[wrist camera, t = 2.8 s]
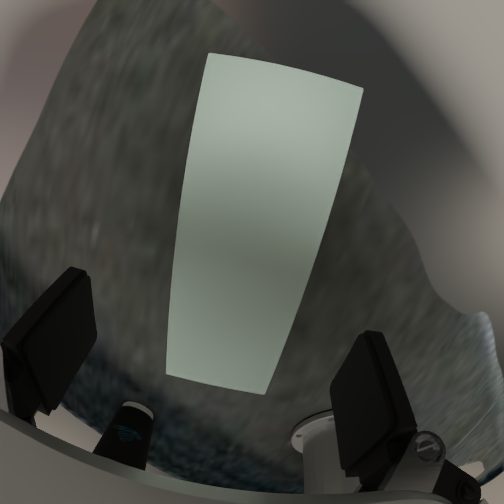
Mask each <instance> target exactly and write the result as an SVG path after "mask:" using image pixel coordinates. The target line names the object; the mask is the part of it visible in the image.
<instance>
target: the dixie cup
mask: <svg viewBox="0 0 504 504" xmlns="http://www.w3.org/2000/svg"><path fill="white" fill-rule="evenodd" d="M153 423H154V422H153V413H152V412H151V411H150V410H149V409H148V408H147V407H145V406H143V405H141V404H139V403H136V402H131V401H128V402H125V403H124V404H123V405H122V406H121V407H120V408H119V409H118V411H117V412H116V414H115V416H114V417H113V419H112V421H111V422H110V424H109V425H108V427H107V429H106V430H105V432H104V434H103V435H102V437H101V439H100V441H99V442H98V444H97V446H96V447H95V449H94V451H93V452H92V453H94V454H96V455H99V456H101V457H104V458H107V459H110V460H112V461H115V462H118V463H121V464H124V465H127V466H130V467H134V468H137V469H140V470H143V471H145V468H146V462H147V456H148V451H149V445H150V439H151V434H152V429H153Z"/></svg>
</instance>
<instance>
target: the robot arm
mask: <svg viewBox="0 0 504 504" xmlns="http://www.w3.org/2000/svg"><path fill="white" fill-rule="evenodd" d="M96 338H97V330H96V323H95V316H94V308H93V299H92V289H91V279H90V277H89V276H87V273H86V271H85V270H82V269H78V268H75V267H69V268H68V269H67V270H66V271H65V272H64V273H63V274H62V275H61V276H60V277H59V278H58V279H57V280H56V281H55V282H54V283H53V284H52V285H51V286H50V287H49V288H48V289H47V290H46V291H45V292H44V293H43V294H42V295H41V296H40V297H39V298H38V300H37V301H36V302H35V303H34V304H33V305H32V306H31V307H30V308H29V309H28V310H27V311H26V313H25V314H24V315H23V316H22V317H21V318H20V319H19V320H18V321H17V323H16V324H15V325H14V326H13V327H12V328H11V330H10V331H9V332H8V333H7V334H6V335H5V337H4V338H3V342H2V343H1V344H0V504H488V503H487V501H486V500H485V499H482V500H480V498H481V488H480V485H479V483H478V482H477V480H476V479H474V478H473V477H472V476H470V475H469V474H467V473H466V472H464V471H462V470H461V469H460V468H458V467H457V466H455V465H454V464H452V463H451V462H449V461H448V460H446V459H445V458H446V447H445V444H444V442H443V440H442V439H441V438H440V437H439V436H438V435H437V434H436V433H434V432H431V431H426V430H423V431H419V432H417V428H416V427H417V424H416V421H415V418H414V415H413V412H412V409H411V406H410V403H409V400H408V397H407V395H406V392H405V389H404V386H403V384H402V381H401V378H400V376H399V373H398V370H397V368H396V365H395V362H394V360H393V357H392V355H391V352H390V350H389V347H388V345H387V342H386V340H385V338H384V335H383V334H382V333H381V332H377V331H369V330H366V331H365V332H364V333H363V334H360V335H359V336H358V337H357V339H356V341H355V343H354V345H353V346H352V348H351V350H350V352H349V354H348V355H347V357H346V359H345V361H344V362H343V364H342V366H341V368H340V369H339V371H338V373H337V374H336V376H335V378H334V379H333V381H332V383H331V386H330V396H331V402H332V409H333V410H332V411H328V412H323V413H320V414H317V415H314V416H312V417H310V418H308V419H306V420H304V421H303V422H301V423H300V424H299V425H298V426H296V427H295V429H294V430H293V431H292V434H291V443H292V446H293V447H294V449H296V450H297V451H299V452H301V453H303V468H304V494H278V493H263V492H252V491H243V490H235V489H227V488H220V487H214V486H208V485H202V484H197V483H192V482H187V481H183V480H178V479H173V478H169V477H165V476H162V475H158V474H154V473H150V472H147V471H143V470H140V469H137V468H134V467H130V466H127V465H124V464H121V463H118V462H115V461H112V460H110V459H107V458H104V457H101V456H99V455H96V454H94V453H91V452H89V451H86V450H84V449H81V448H79V447H77V446H74V445H72V444H70V443H68V442H65V441H63V440H61V439H59V438H57V437H55V436H52V435H50V434H48V433H46V432H44V431H42V430H40V429H38V428H37V427H36V423H35V419H34V414H35V412H36V411H37V410H38V411H40V412H42V413H44V414H46V415H48V416H49V414H50V412H51V411H52V410H56V408H57V407H58V405H59V404H60V402H61V400H62V398H63V396H64V395H65V393H66V391H67V389H68V387H69V386H70V384H71V382H72V380H73V379H74V377H75V375H76V373H77V372H78V370H79V368H80V367H81V365H82V363H83V362H84V360H85V358H86V357H87V355H88V353H89V352H90V350H91V348H92V347H93V345H94V343H95V341H96Z"/></svg>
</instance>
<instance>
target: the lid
mask: <svg viewBox="0 0 504 504" xmlns="http://www.w3.org/2000/svg"><path fill="white" fill-rule="evenodd" d="M362 93H363V88H360V87H357V86H354V85H351V84H348V83H345V82H342V81H339V80H336V79H333V78H329V77H326V76H322V75H319V74H315V73H311V72H308V71H304V70H300V69H296V68H292V67H287V66H283V65H278V64H274V63H269V62H264V61H259V60H253V59H248V58H242V57H235V56H228V55H221V54H213V53H209V54H208V58H207V62H206V66H205V71H204V75H203V79H202V84H201V89H200V93H199V98H198V103H197V108H196V113H195V118H194V123H193V128H192V134H191V139H190V145H189V151H188V157H187V163H186V169H185V175H184V182H183V188H182V195H181V202H180V210H179V217H178V225H177V234H176V242H175V251H174V261H173V271H172V282H171V294H170V306H169V321H168V338H167V360H166V374H169V375H172V376H176V377H180V378H184V379H188V380H192V381H197V382H201V383H205V384H210V385H215V386H219V387H224V388H229V389H234V390H240V391H245V392H251V393H257V394H263V395H265V393H266V390H267V388H268V385H269V383H270V381H271V378H272V376H273V373H274V371H275V368H276V366H277V363H278V361H279V358H280V355H281V353H282V350H283V348H284V345H285V343H286V340H287V337H288V335H289V332H290V329H291V327H292V324H293V321H294V319H295V316H296V313H297V310H298V308H299V305H300V302H301V299H302V296H303V294H304V291H305V288H306V285H307V282H308V279H309V276H310V273H311V270H312V267H313V265H314V262H315V259H316V256H317V252H318V249H319V246H320V243H321V240H322V237H323V234H324V231H325V228H326V224H327V221H328V218H329V215H330V211H331V208H332V205H333V202H334V198H335V195H336V191H337V188H338V185H339V181H340V178H341V174H342V171H343V167H344V163H345V160H346V156H347V152H348V149H349V145H350V141H351V137H352V134H353V130H354V126H355V122H356V118H357V114H358V110H359V106H360V101H361V97H362Z"/></svg>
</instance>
